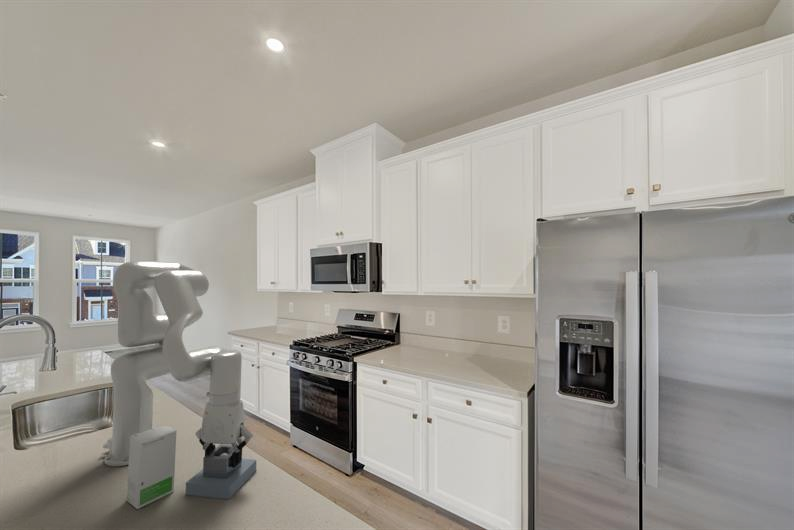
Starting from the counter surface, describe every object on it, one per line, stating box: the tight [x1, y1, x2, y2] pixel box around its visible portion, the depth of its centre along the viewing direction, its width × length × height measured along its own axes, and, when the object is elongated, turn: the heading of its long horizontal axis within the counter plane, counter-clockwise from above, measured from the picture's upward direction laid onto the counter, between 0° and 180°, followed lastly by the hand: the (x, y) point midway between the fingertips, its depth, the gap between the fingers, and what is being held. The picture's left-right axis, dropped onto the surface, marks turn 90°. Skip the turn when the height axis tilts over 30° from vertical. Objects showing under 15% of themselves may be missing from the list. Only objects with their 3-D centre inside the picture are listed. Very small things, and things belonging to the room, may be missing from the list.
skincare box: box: [126, 425, 177, 510], centre depth 82 cm, size 8×7×16 cm
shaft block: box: [185, 453, 257, 500], centre depth 87 cm, size 12×12×7 cm
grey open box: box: [202, 444, 242, 479], centre depth 87 cm, size 7×7×5 cm
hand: (223, 463), depth 87 cm, fingers open, 7 cm apart
